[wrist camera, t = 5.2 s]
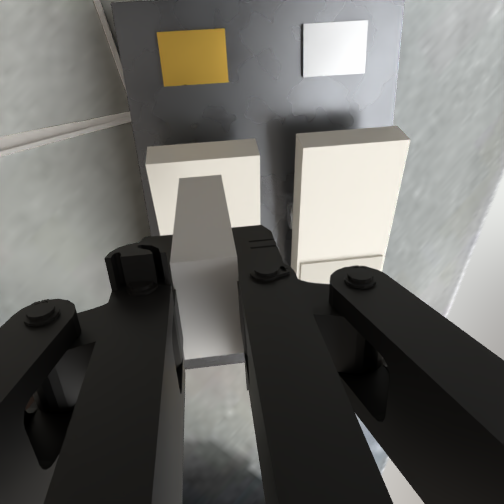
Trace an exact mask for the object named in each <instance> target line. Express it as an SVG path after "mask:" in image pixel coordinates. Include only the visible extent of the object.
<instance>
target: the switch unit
mask: <svg viewBox="0 0 504 504" xmlns="http://www.w3.org/2000/svg"><path fill="white" fill-rule="evenodd" d="M404 5H405V0H155V1H135V2H116V3H111V6H112V12H113V18H114V24H115V29H116V35H117V41H118V47H119V53H120V58H121V64H122V70H123V76H124V81H125V87H126V93H127V99H128V104H129V110H130V116H131V122H132V128H133V133H134V139H135V145H136V151H137V156H138V162H139V168H140V174H141V180H142V185H143V191H144V197H145V203H146V208H147V214H148V220H149V226H150V231H151V237H152V236H160V232H159V227H158V222H157V218H156V213H155V208H154V203H153V199H152V194H151V189H150V184H149V180H148V175H147V170H146V165H145V163H146V155H147V147H150V146H163V145H176V144H189V143H202V142H215V141H228V140H241V139H254V138H255V139H256V143H257V147H258V150H259V154H260V225H263V226H264V227H266V228H267V229H269V230H271V232H272V235H273V237H274V240H275V242H276V245H277V247H278V250H279V252H280V255H281V257H282V260H283V262H284V264H286V265H288V266H290V267H291V248H292V223H293V198H294V173H295V148H296V134H297V133H310V132H323V131H336V130H349V129H362V128H375V127H388V126H393V121H394V110H395V100H396V89H397V79H398V68H399V57H400V47H401V36H402V26H403V15H404ZM183 362H184V369H193V368H201V367H209V366H218V365H226V364H235V363H243V362H245V357H244V353H237V354H229V355H221V356H212V357H204V358H195V359H187V360H185V358H184V351H183Z"/></svg>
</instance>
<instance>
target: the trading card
mask: <svg viewBox="0 0 504 504" xmlns="http://www.w3.org/2000/svg"><path fill="white" fill-rule="evenodd" d="M93 1H94V3H95V6H96V9H97V12H98V15H99V18H100V20H101V23H102V26H103V29H104V32H105V34H106V37H107V40H108V43H109V46H110V49H111V51H112V54H113V57H114V60H115V63H116V66H117V68H118V71H119V74H120V77H121V80H122V83H123V85H124V88H125V91H126V87H125V81H124V76H123V70H122V64H121V59H120V56H119V53H118V50H117V47H116V44H115V42H114V39H113V36H112V33H111V30H110V27H109V24H108V21H107V19H106V16H105V13H104V10H103V7H102V4H101V1H100V0H93ZM126 94H127V93H126ZM128 122H131V116H130V111H128V112H123V113H118V114H113V115H108V116H103V117H98V118H93V119H89V120H85V121H81V122H72V123H67V124H62V125H57V126H52V127H47V128H42V129H37V130H32V131H27V132H21V133H16V134H11V135H6V136H1V137H0V157H1V156H5V155H9V154H13V153H16V152H20V151H24V150H28V149H31V148H35V147H39V146H42V145H46V144H50V143H54V142H57V141H61V140H65V139H69V138H72V137H76V136H80V135H84V134H87V133H91V132H95V131H99V130H102V129H106V128H110V127H114V126H117V125H121V124H125V123H128Z"/></svg>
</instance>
